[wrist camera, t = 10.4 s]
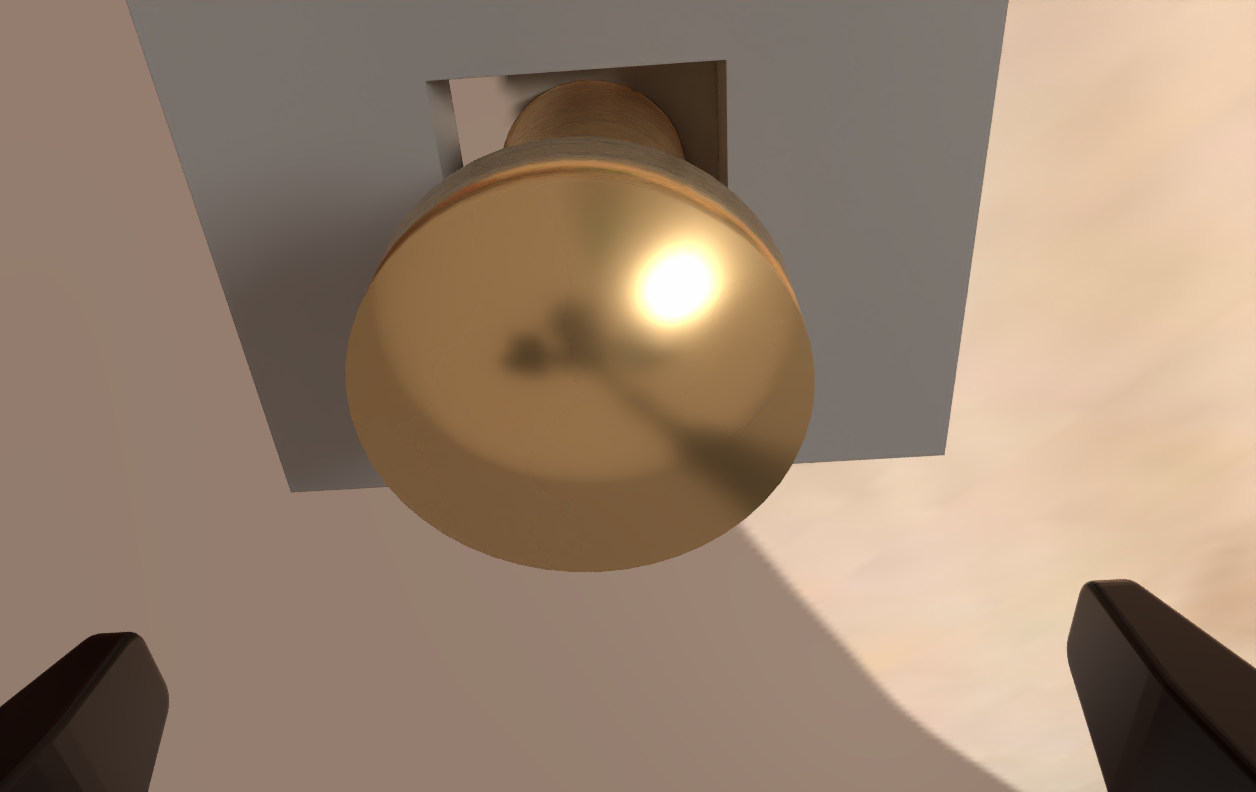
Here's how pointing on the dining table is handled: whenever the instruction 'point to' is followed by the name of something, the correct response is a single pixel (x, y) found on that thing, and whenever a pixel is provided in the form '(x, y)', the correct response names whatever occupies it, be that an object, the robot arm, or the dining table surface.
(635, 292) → the door knob
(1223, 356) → the dining table surface
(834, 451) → the housing plate
